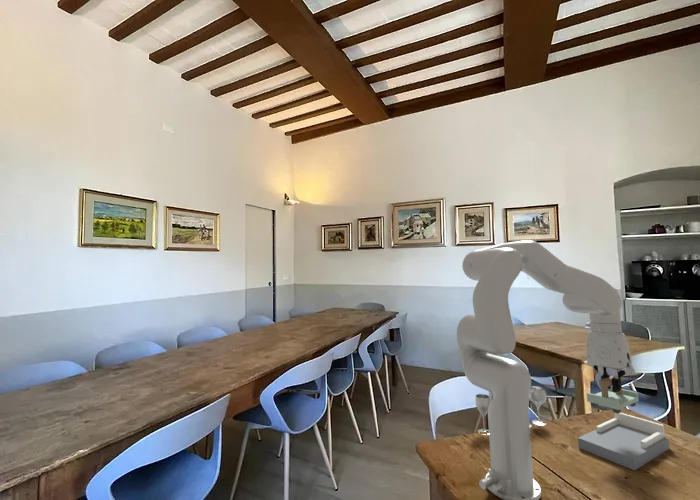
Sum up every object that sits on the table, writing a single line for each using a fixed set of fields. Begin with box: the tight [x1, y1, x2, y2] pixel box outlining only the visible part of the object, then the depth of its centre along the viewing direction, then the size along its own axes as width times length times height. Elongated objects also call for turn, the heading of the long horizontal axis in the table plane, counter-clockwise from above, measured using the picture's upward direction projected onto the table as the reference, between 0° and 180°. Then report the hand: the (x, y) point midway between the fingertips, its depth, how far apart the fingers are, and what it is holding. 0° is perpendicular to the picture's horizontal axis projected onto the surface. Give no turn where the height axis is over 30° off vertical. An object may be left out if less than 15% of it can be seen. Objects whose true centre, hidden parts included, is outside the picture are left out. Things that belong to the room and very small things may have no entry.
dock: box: [577, 412, 670, 471], centre depth 102 cm, size 22×14×6 cm, turn 119°
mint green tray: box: [586, 375, 639, 413], centre depth 101 cm, size 12×8×8 cm, turn 119°
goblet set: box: [475, 385, 548, 436], centre depth 118 cm, size 28×6×13 cm, turn 105°
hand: (611, 389), depth 101 cm, fingers closed on mint green tray
